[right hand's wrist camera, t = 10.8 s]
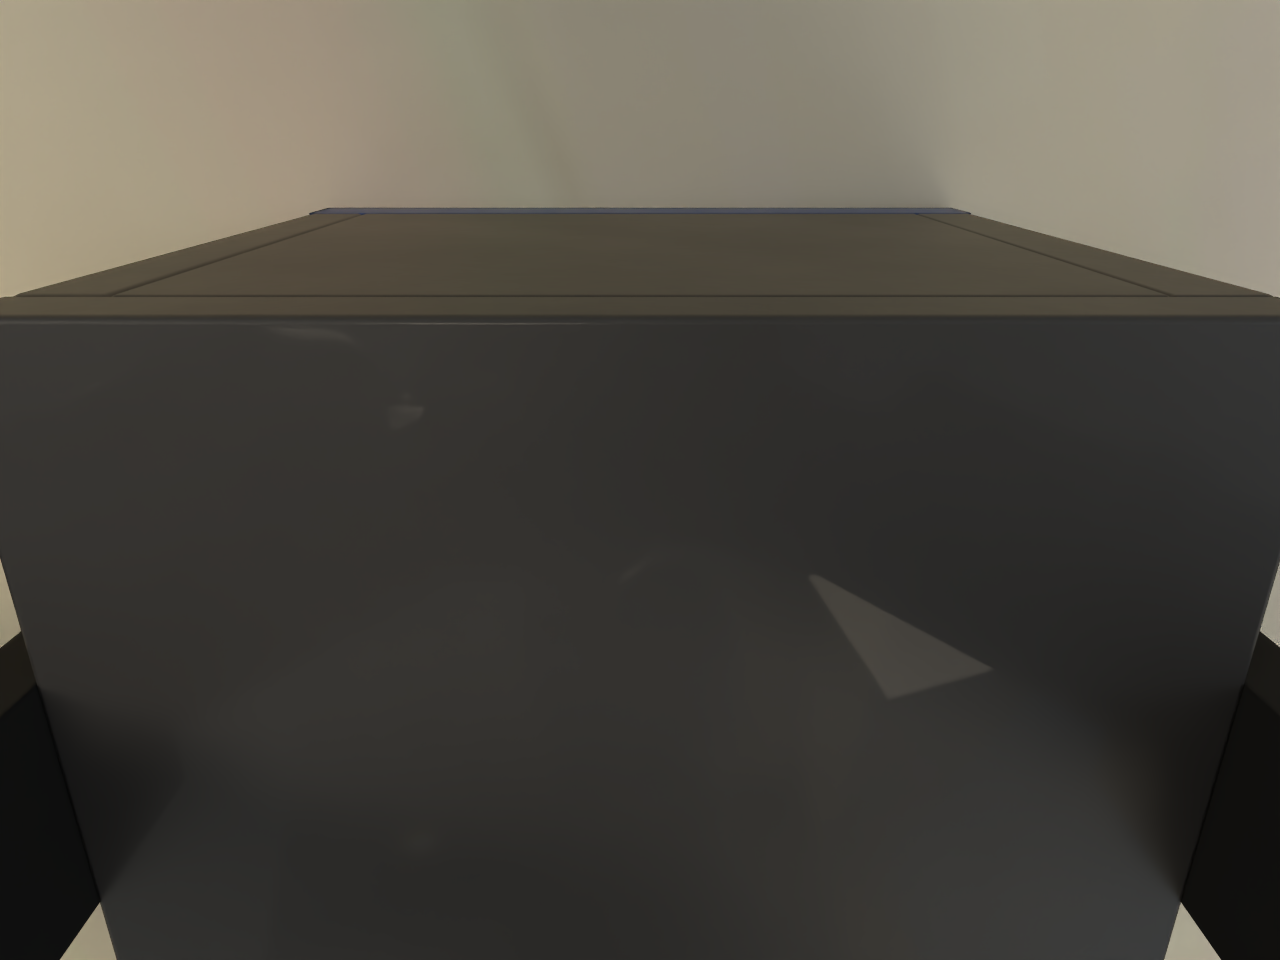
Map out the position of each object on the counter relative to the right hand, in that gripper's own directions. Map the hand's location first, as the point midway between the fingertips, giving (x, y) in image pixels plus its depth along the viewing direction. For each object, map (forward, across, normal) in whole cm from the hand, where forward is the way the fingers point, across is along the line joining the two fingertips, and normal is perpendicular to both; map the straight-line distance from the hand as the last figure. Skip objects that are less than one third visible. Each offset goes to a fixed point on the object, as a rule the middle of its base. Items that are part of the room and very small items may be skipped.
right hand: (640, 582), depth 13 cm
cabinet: (+5, 0, -4) cm, 7 cm away
